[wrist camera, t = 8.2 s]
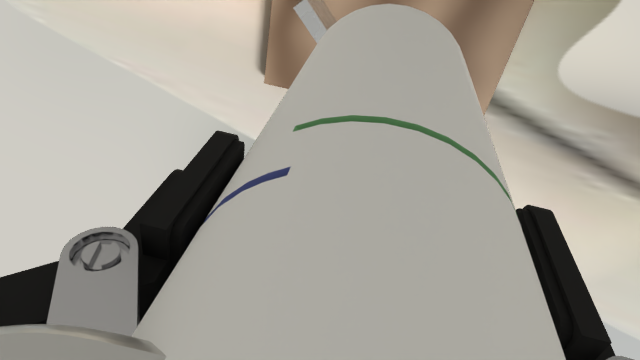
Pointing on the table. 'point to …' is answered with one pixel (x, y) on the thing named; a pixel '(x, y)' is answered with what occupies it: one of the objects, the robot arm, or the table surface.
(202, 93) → the table surface
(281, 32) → the v cradle
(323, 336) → the cylindrical container
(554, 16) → the table surface
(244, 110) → the table surface
